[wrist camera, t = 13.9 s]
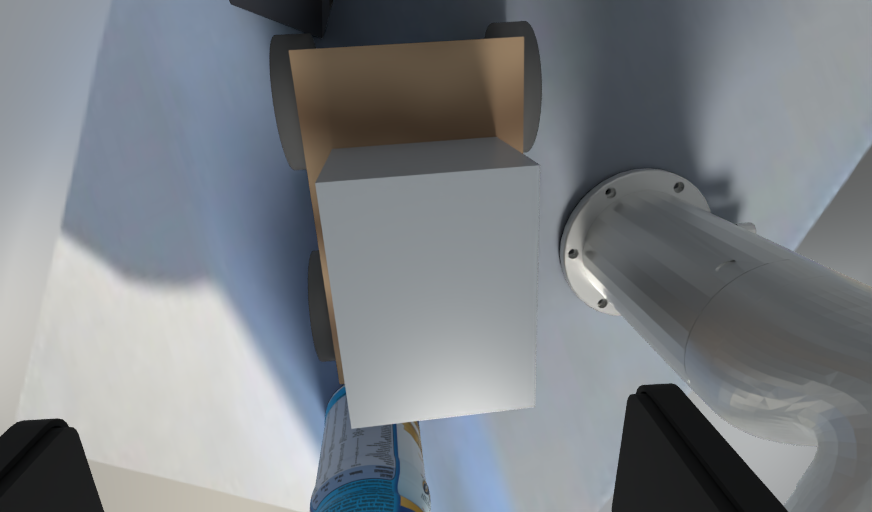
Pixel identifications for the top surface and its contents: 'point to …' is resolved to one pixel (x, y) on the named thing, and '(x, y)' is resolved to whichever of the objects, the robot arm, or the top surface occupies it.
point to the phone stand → (292, 13)
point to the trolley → (419, 217)
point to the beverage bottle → (369, 466)
